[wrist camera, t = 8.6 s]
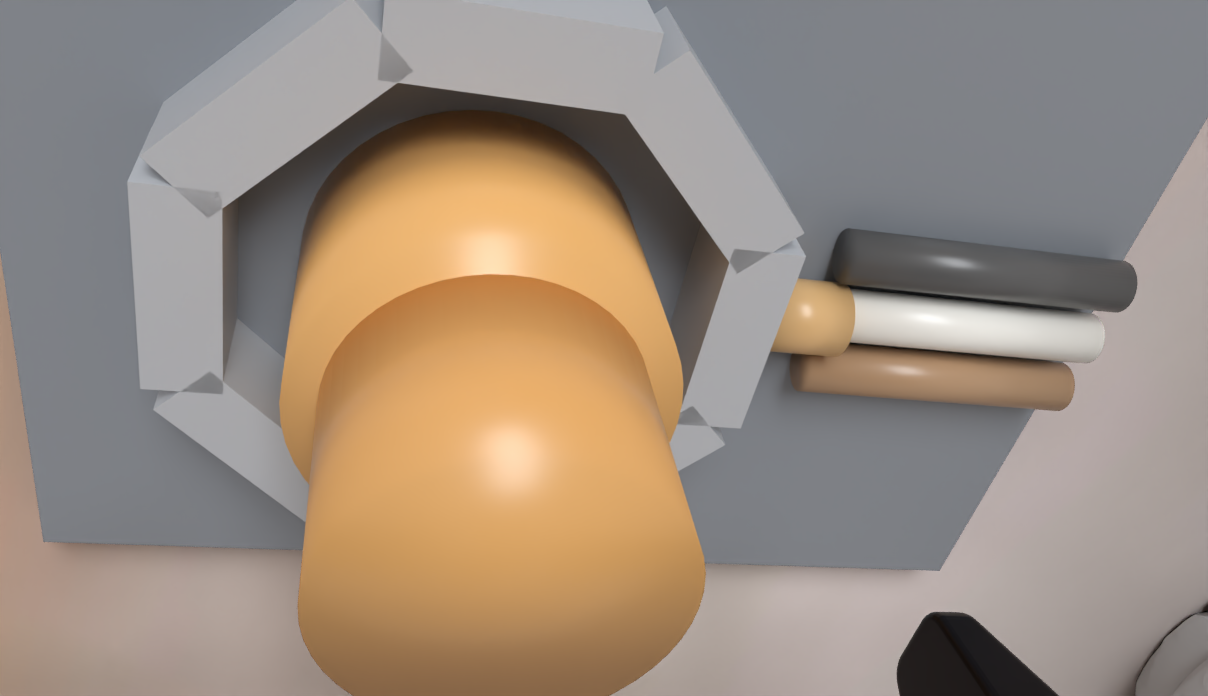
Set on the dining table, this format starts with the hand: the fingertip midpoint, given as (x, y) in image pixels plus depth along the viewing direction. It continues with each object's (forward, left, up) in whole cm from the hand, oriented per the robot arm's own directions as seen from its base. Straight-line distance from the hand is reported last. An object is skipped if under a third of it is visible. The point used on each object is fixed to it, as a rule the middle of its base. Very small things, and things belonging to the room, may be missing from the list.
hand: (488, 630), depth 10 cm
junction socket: (-2, 0, -7) cm, 7 cm away
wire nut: (0, 0, -6) cm, 6 cm away
